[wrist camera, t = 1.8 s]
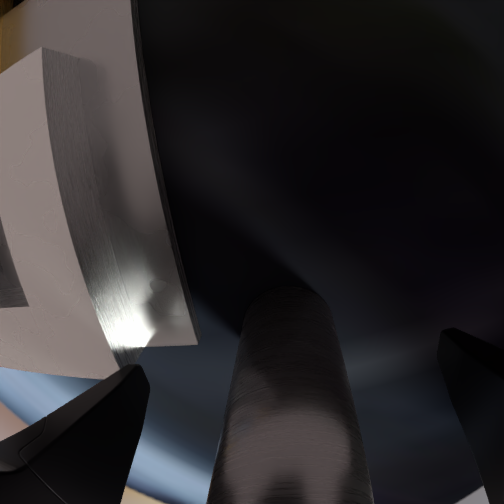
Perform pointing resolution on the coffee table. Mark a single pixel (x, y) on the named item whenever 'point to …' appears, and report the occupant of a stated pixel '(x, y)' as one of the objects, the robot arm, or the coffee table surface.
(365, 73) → the coffee table surface
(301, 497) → the pin
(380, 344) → the coffee table surface
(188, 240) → the coffee table surface
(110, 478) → the robot arm
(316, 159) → the coffee table surface
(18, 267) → the knob backplate
